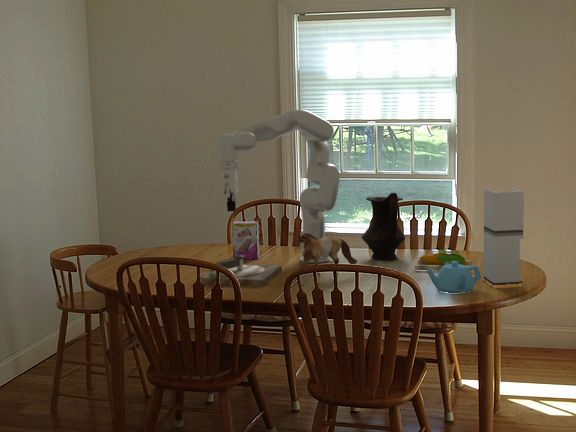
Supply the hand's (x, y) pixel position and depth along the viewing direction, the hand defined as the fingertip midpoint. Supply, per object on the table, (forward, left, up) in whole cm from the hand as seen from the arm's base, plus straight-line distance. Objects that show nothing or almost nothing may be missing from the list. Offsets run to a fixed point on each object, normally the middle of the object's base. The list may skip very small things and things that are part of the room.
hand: (231, 210), depth 321 cm
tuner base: (-4, +5, -26) cm, 27 cm away
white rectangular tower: (-105, +2, -26) cm, 108 cm away
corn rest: (-82, -21, -26) cm, 89 cm away
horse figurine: (-41, +7, -27) cm, 49 cm away
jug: (-56, -36, -26) cm, 72 cm away
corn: (-81, -21, -27) cm, 88 cm away
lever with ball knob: (-2, +9, -23) cm, 25 cm away
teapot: (-88, +14, -27) cm, 93 cm away
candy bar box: (+5, -31, -27) cm, 41 cm away
